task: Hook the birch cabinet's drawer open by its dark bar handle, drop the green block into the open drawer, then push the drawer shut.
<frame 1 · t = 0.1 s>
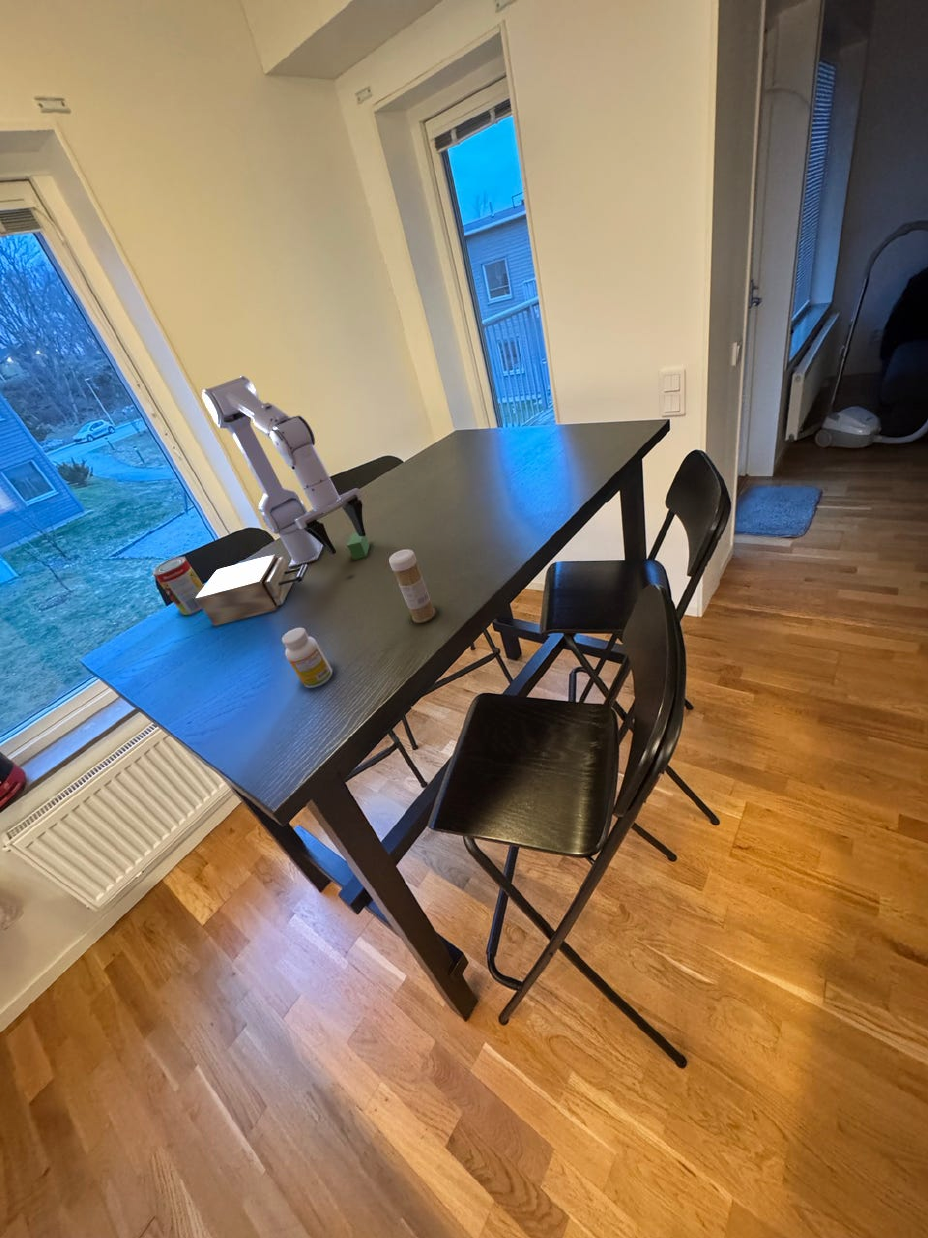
hand: (348, 544, 102), 11 cm above the table, tool pointing down, fingers open, 7 cm apart
supplement bottle: (318, 678, 85), on the table
sprinkles bottle: (424, 617, 91), on the table
cabinet: (254, 602, 115), on the table
canned food: (197, 606, 123), on the table
green block: (361, 552, 123), on the table
drawer: (265, 584, 113), point 4 cm above the table, slide at 0.5 cm
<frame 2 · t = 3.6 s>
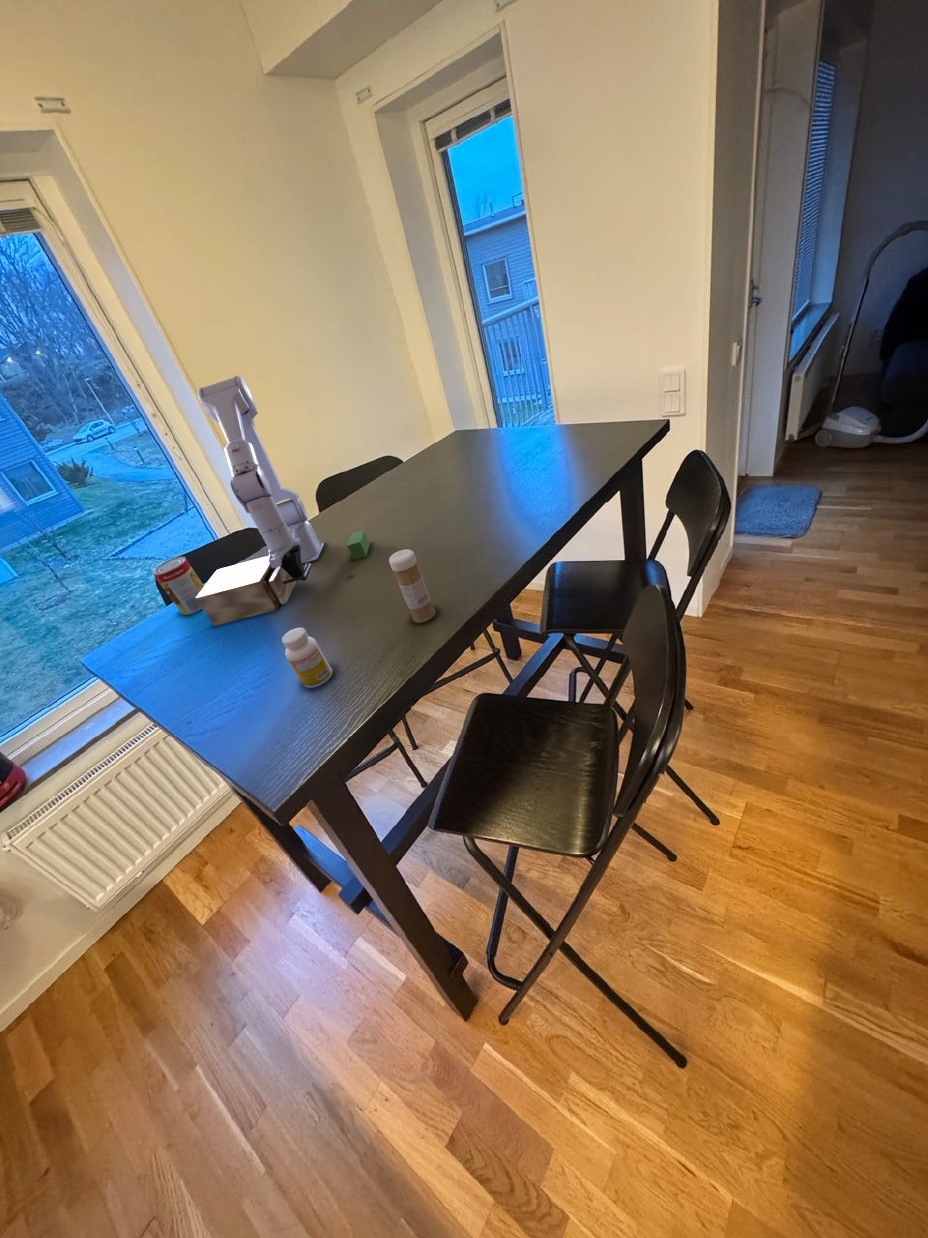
hand: (300, 578, 112), 3 cm above the table, tool pointing down, fingers closed, pressing on drawer
drawer: (269, 583, 112), point 4 cm above the table, slide at 1.5 cm, touching gripper
everything else where it was.
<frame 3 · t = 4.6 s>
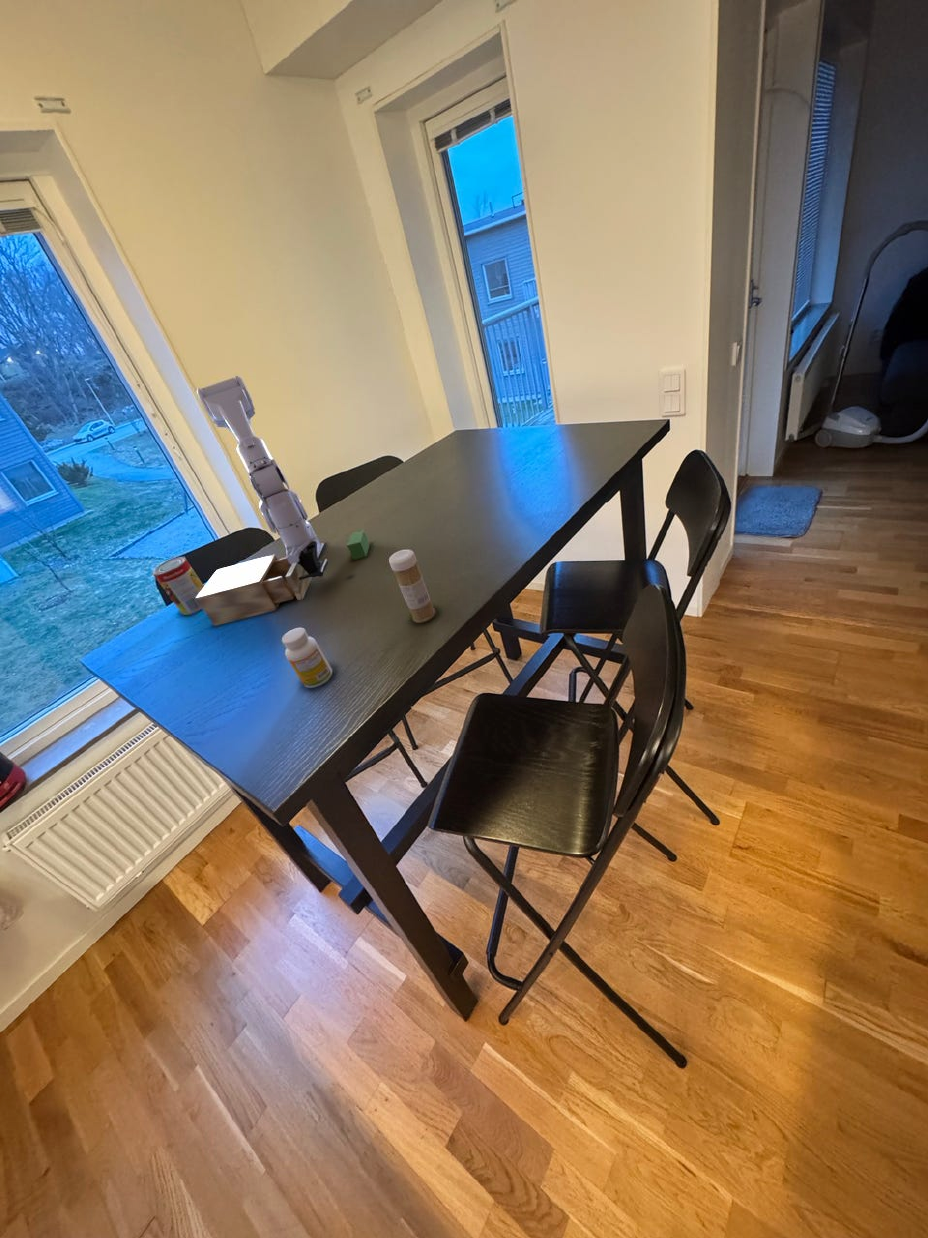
hand: (316, 575, 112), 3 cm above the table, tool pointing down, fingers closed, pressing on drawer
drawer: (285, 578, 112), point 4 cm above the table, slide at 5.5 cm, touching gripper
everything else where it was.
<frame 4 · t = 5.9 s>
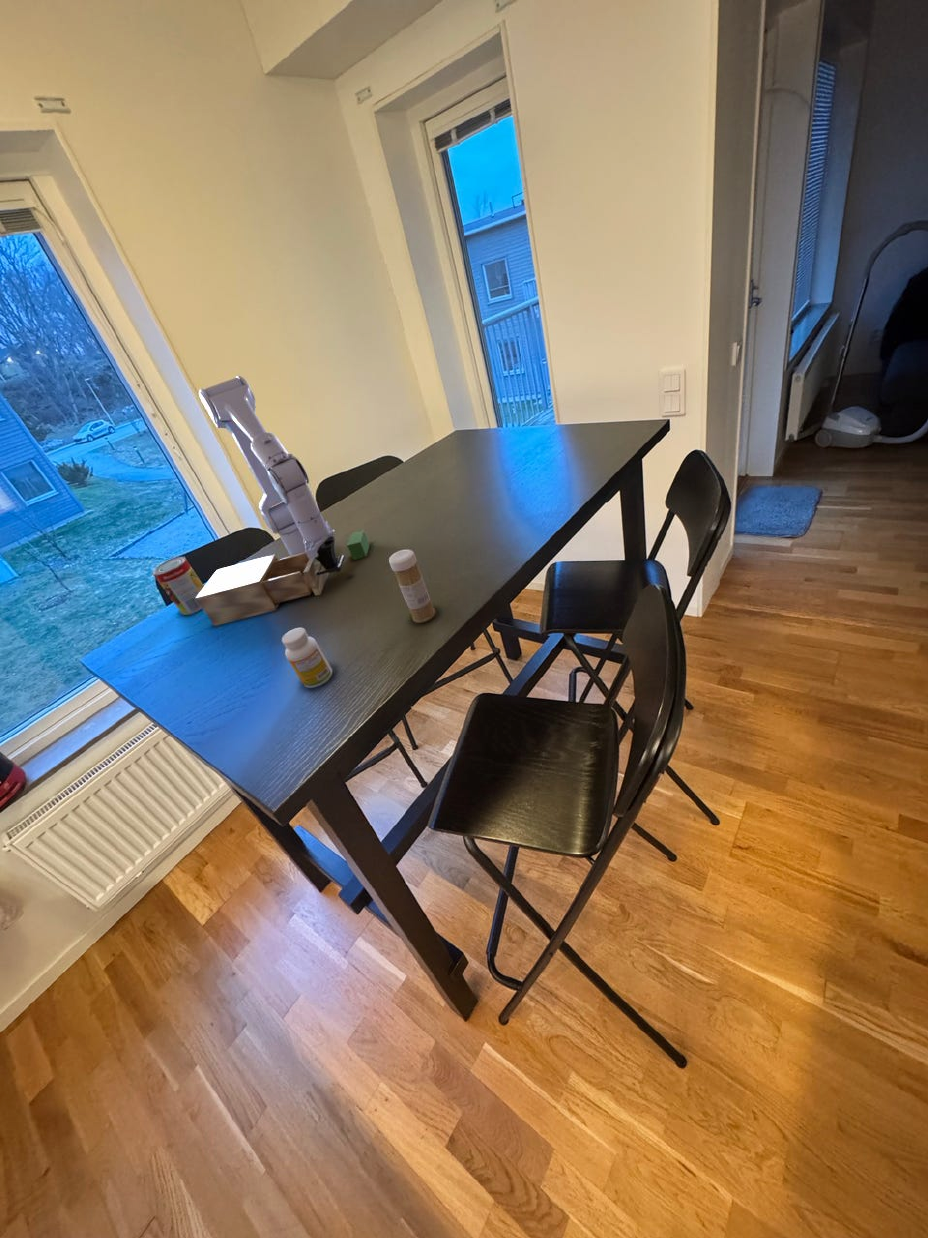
hand: (333, 570, 111), 3 cm above the table, tool pointing down, fingers closed, pressing on drawer
drawer: (302, 574, 112), point 4 cm above the table, slide at 9.7 cm, touching gripper
everything else where it was.
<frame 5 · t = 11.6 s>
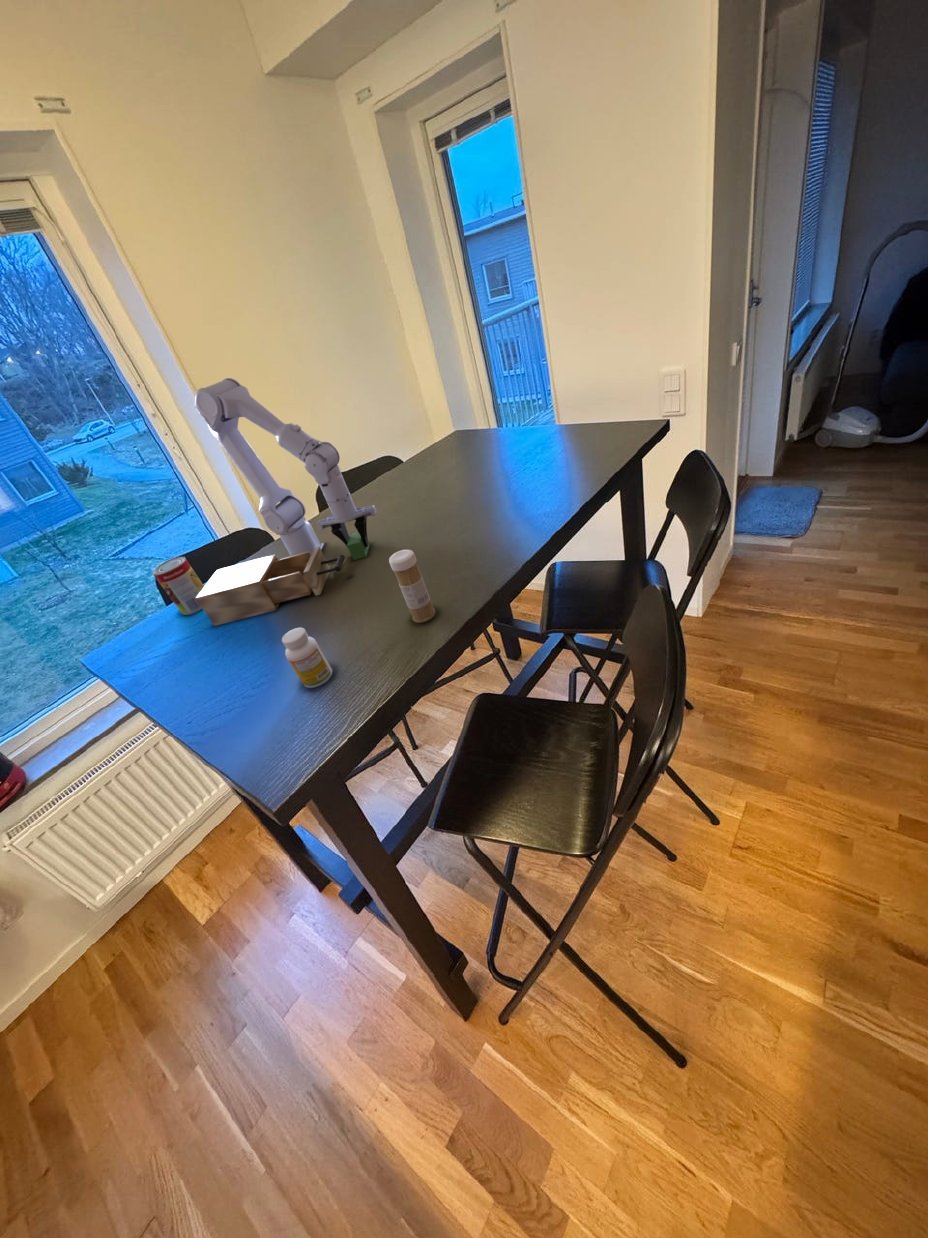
hand: (359, 547, 122), 1 cm above the table, tool pointing down, fingers closed on green block, 3 cm apart
green block: (361, 552, 123), on the table, touching gripper
drawer: (302, 574, 112), point 4 cm above the table, slide at 9.7 cm
everything else where it was.
when the fingers open (3 cm above the table, at t = 16.7 s): green block stays where it is, resting on drawer.
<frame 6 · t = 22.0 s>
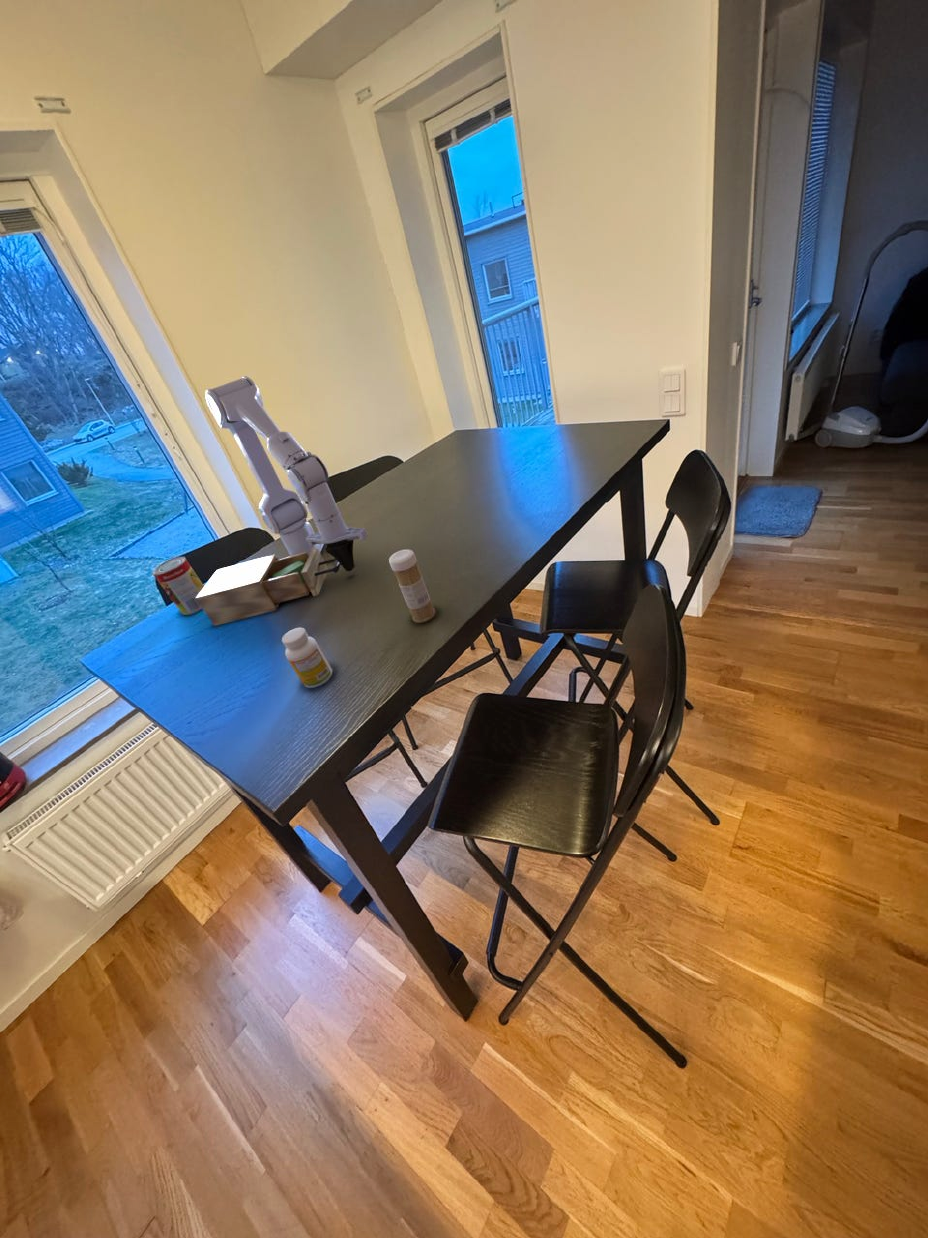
hand: (350, 568, 111), 2 cm above the table, tool pointing down, fingers closed
green block: (296, 584, 113), point 2 cm above the table, touching drawer
drawer: (300, 575, 112), point 4 cm above the table, slide at 9.2 cm, touching gripper, green block
everything else where it was.
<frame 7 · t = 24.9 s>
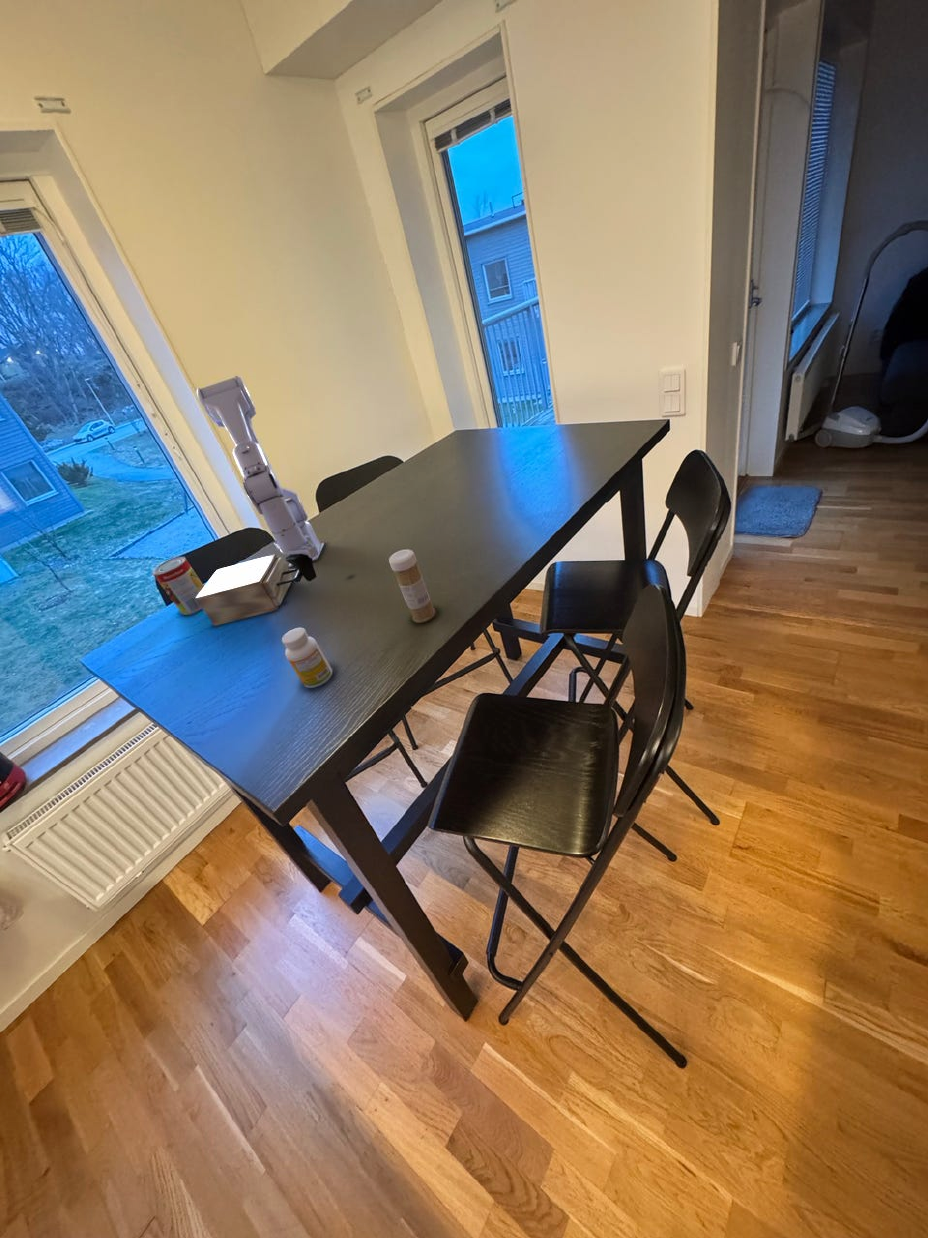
hand: (311, 578, 113), 2 cm above the table, tool pointing down, fingers closed, pressing on drawer
green block: (259, 593, 114), point 2 cm above the table, touching drawer
drawer: (263, 584, 113), point 4 cm above the table, slide at 0.0 cm, touching cabinet, gripper, green block
everything else where it was.
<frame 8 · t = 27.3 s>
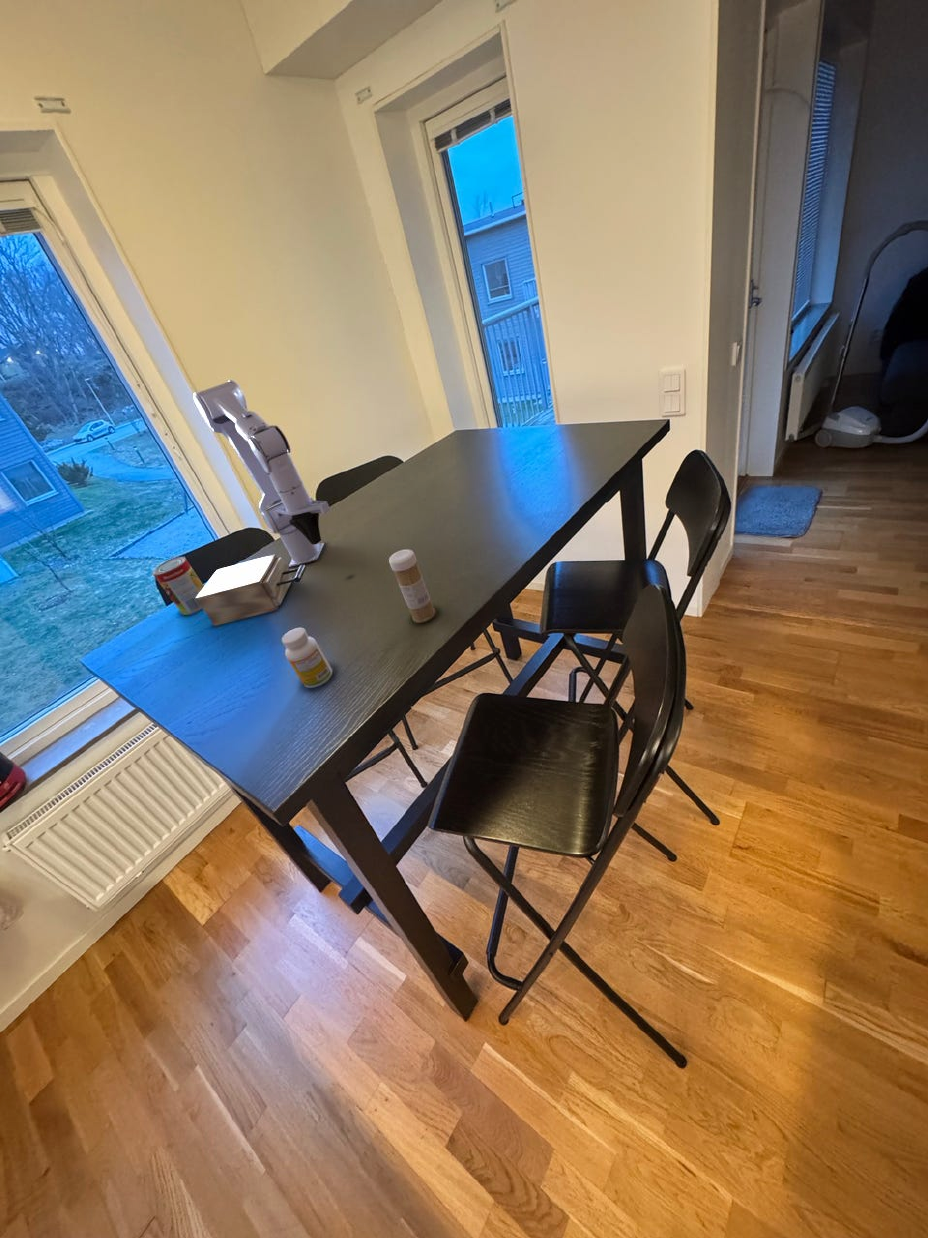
hand: (316, 542, 112), 9 cm above the table, tool pointing down, fingers closed
drawer: (263, 584, 113), point 4 cm above the table, slide at 0.0 cm, touching green block
everything else where it was.
at the end: drawer pulled out 9.7 cm at the most during the clip, back to where it started at the end; green block inside the target area in the cabinet (2.5 cm from its centre), point 1.9 cm above the cabinet's base; drawer slide at 0.0 cm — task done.
